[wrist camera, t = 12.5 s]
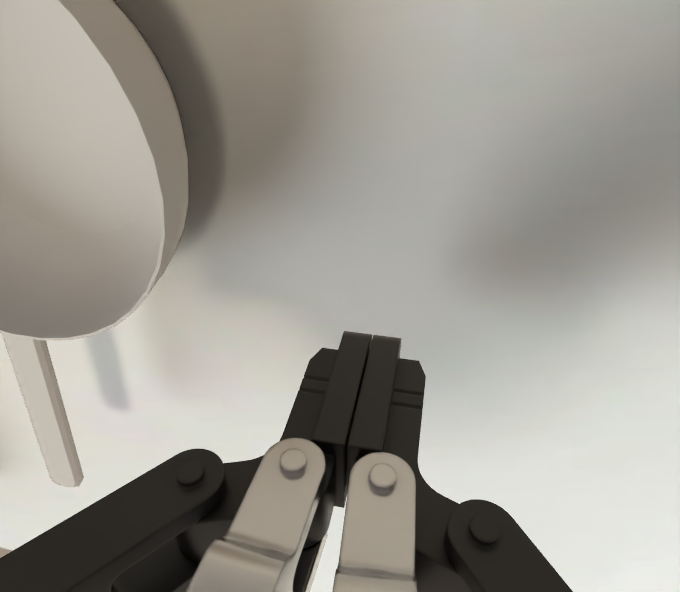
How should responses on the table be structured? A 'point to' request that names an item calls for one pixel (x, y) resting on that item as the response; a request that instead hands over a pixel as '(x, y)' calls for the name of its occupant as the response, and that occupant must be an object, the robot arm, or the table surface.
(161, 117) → the saucepan
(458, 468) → the table surface
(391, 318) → the table surface
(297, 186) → the table surface
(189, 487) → the robot arm
